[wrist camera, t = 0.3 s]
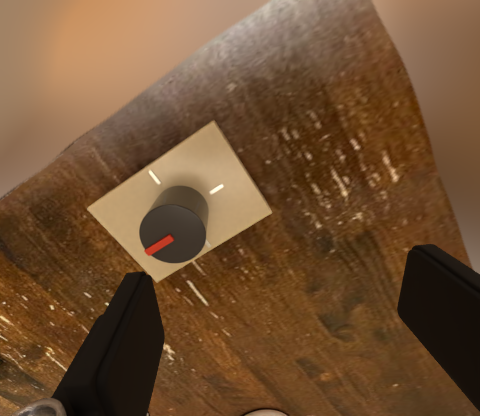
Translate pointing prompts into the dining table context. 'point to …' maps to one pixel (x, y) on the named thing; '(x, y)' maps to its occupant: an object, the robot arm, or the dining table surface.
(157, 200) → the knob
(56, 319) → the dining table surface
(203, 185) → the panel
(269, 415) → the cream round flat cylinder
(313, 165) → the dining table surface
